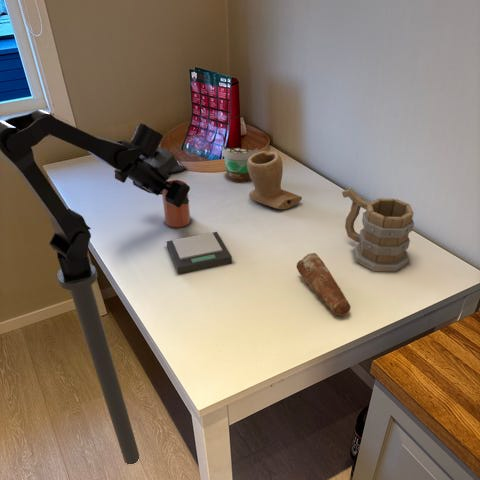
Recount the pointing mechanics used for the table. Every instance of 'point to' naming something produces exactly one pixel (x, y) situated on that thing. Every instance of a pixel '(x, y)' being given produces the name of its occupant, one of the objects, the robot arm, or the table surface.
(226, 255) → the kitchen scale
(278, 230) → the table surface
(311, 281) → the brown tapered rod
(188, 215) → the tumbler
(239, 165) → the food container
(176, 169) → the dark slate chunk
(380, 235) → the tankard
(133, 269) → the table surface
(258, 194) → the clay pipe bowl
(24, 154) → the robot arm
